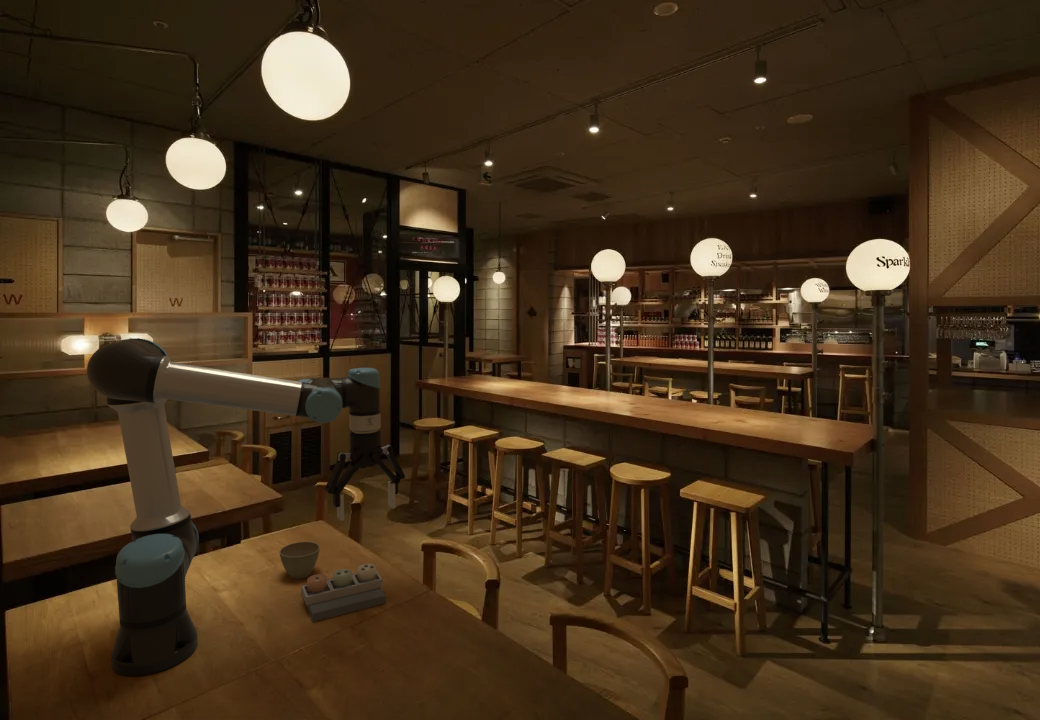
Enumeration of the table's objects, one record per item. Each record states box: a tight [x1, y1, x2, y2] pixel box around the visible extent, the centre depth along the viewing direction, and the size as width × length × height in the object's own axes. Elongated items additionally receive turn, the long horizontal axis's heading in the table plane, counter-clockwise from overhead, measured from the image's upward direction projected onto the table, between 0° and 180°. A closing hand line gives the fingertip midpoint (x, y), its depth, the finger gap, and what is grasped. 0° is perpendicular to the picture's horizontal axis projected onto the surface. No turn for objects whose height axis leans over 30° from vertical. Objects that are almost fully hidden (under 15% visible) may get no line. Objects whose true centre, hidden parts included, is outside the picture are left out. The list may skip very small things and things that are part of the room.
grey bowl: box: [279, 541, 321, 580], centre depth 154 cm, size 10×10×7 cm
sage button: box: [332, 568, 353, 587], centre depth 142 cm, size 4×4×3 cm
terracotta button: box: [306, 573, 328, 593], centre depth 139 cm, size 4×4×3 cm
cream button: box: [357, 563, 377, 581], centre depth 145 cm, size 4×4×3 cm
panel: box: [300, 569, 387, 623], centre depth 143 cm, size 18×15×4 cm
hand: (366, 512), depth 146 cm, fingers open, 13 cm apart
